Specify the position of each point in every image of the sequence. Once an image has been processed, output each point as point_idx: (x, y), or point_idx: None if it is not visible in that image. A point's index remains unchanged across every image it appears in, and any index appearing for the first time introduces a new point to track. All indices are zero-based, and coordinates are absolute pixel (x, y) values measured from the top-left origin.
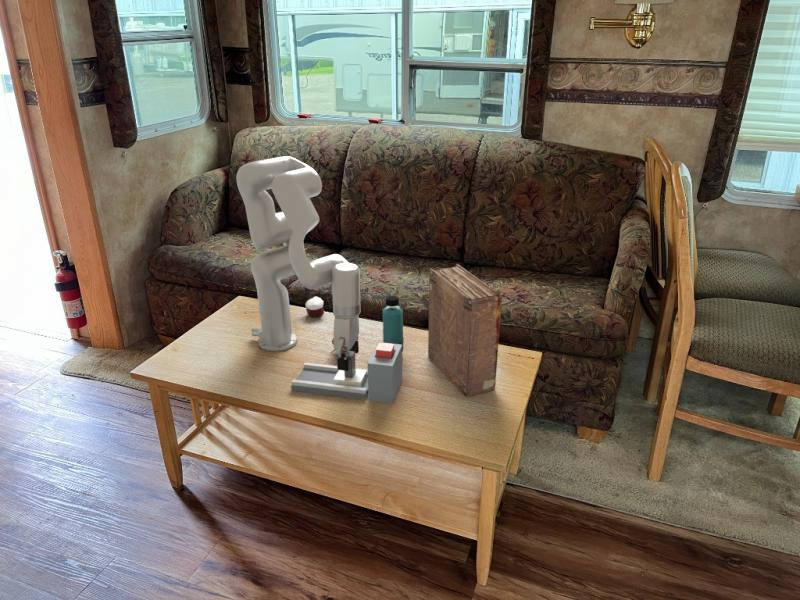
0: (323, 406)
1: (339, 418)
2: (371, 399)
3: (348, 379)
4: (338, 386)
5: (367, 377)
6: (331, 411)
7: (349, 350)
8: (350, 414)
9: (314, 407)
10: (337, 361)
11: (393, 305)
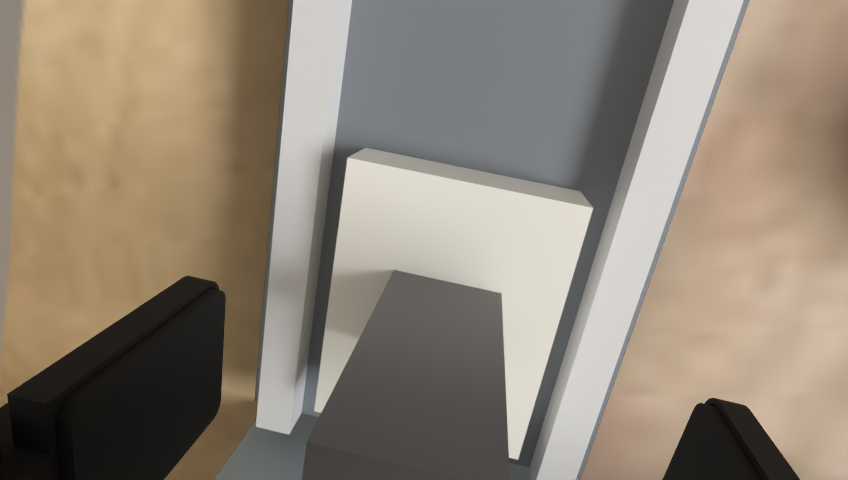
0: (140, 80)
1: (32, 221)
2: None
3: (354, 307)
4: (285, 207)
5: None
6: (94, 155)
7: (702, 444)
8: (92, 290)
9: (112, 3)
10: (86, 348)
11: None
